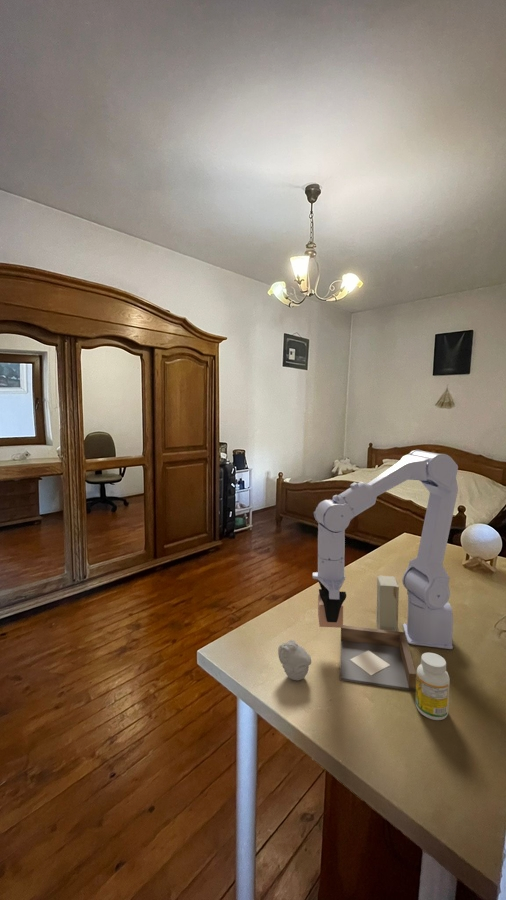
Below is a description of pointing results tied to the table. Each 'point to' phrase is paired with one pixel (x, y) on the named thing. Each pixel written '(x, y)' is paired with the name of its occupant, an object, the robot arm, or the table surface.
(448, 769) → the table surface
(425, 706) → the supplement bottle
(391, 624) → the skincare box
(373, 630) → the tray
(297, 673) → the frog figurine
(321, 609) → the cube
